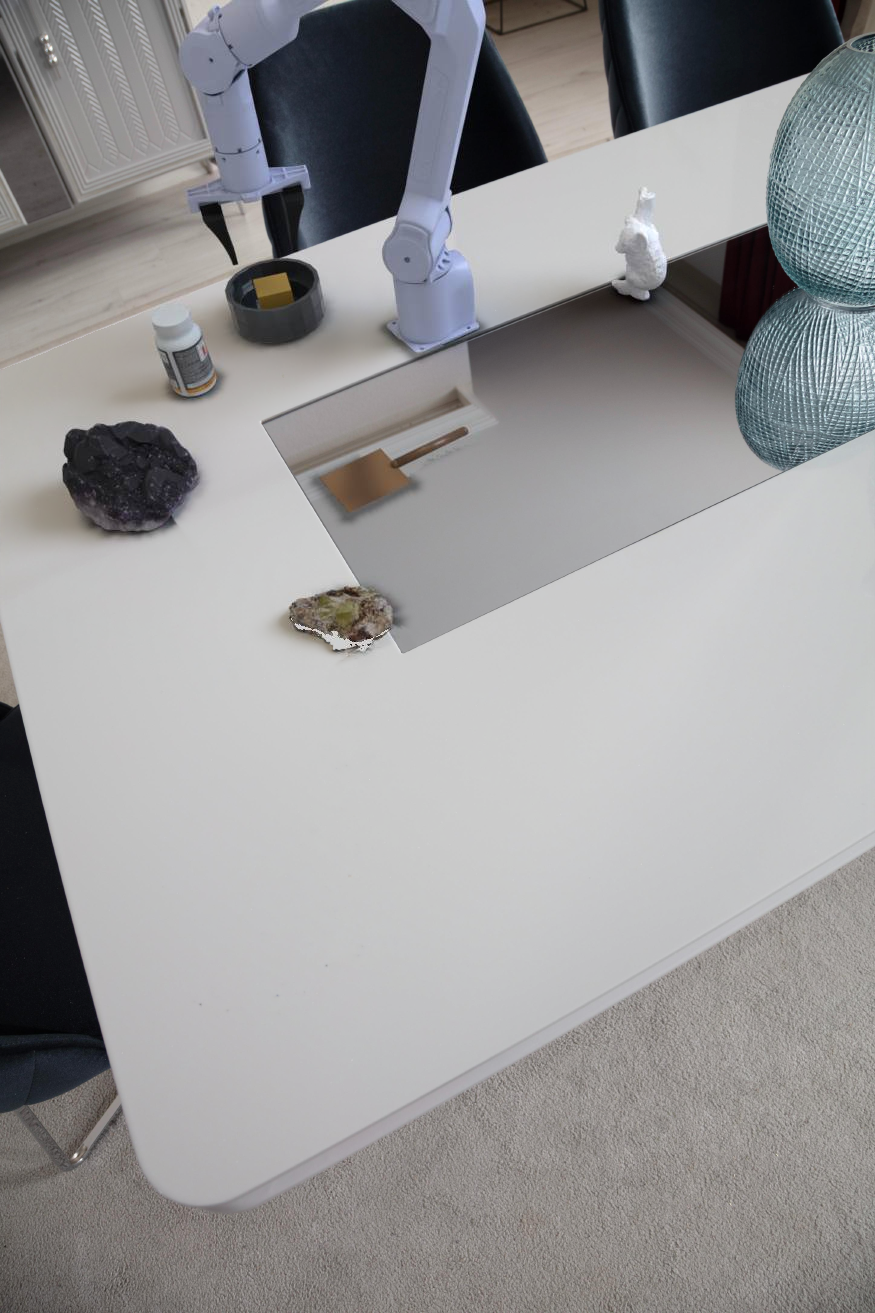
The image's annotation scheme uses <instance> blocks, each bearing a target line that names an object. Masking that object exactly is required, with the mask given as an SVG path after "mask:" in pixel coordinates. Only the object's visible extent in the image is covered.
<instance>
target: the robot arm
mask: <svg viewBox="0 0 875 1313" xmlns="http://www.w3.org/2000/svg"><path fill="white" fill-rule="evenodd" d="M328 1H329V0H230V1H229V2H227V3H226V4H225V5H223V6H221V7H220V5H218V4H216V5H214V6H212V7H211V8H209V10H208V11H207V12H206V13H207V14H206V15H207V16H205V17H204V18H203V19H202V20H201V21H200V22H199V23H198V24H196V26H194V28H193V29H192V30H191V31H189V32H188V33H187V34H186V36H185V37H184V38H183V40H182V41H181V43H180V45H179V49H178V52H177V53H178V54H177V55H178V63H179V64H178V65H179V67H180V70H181V72H182V74H183V76H184V78H185V79H186V81H187V82H188V83H189V84H190V85H191V86H192V87H193V88H195V89H196V92H197V95H198V99H199V103H200V106H201V110H202V114H203V118H204V122H205V125H206V128H207V132H208V137H209V140H210V144H211V147H212V151H213V156H214V158H215V162H216V167H217V170H218V174H219V178H216V179H214V180H212V181H209V182H206V183H204V184H202V185H198V186H195V187H193V188H187V189H185V197H186V200H187V203H188V206H189V210H190V214H197V213H200V214H201V219H202V222H203V224H204V225H205V226H206V227H207V228H208V229H209V230H210V232H212V233H213V235H214V236H215V238H216V239H217V240H218V241H219V242H220V244H221V245H222V247H223V248H224V251H226V253H227V255H228V257H229V260H230V262H231V264H232V266H238V265H239V261H238V258H237V257H238V256H237V253H236V250H235V246H234V244H233V241H232V238H231V236H230V232H229V230H228V227H227V226H228V225H227V222H226V218H225V215H224V212H223V209H222V205H225V204H231V203H234V202H239V201H242V202H243V204H251V203H256V202H259V201H261V197H263V196H268V195H272V194H276V193H280V198H281V202H282V206H283V210H284V216H285V220H286V227H287V235H288V239H289V243H290V247H291V250H292V253H297V252H299V229H300V228H299V227H300V222H301V218H302V213H303V210H304V207H305V195H304V192H303V190H307V189H311V188H312V185H311V180H310V175H309V171H308V168H307V165H306V164H302V165H296V166H278V167H277V166H276V167H269V164H268V159H267V155H266V150H265V146H264V142H263V137H262V133H261V129H260V125H259V120H258V115H257V113H256V112H257V111H256V107H255V103H254V97H253V93H252V90H251V85H250V78H249V74H248V69H251V68H253V67H255V65H257V64H259V63H260V62H262V61H264V60H265V59H266V58H268V57H270V56H272V54H274V53H275V52H277V51H278V50H280V49H282V48H283V47H285V46H286V45H288V44H289V43H291V42H293V41H294V40H295V39H296V38H297V36H298V33H299V29H300V20H301V18H302V17H304V16H305V15H307V14H308V13H310V12H312V11H314V10H315V9H316V8H319V7H320V6H322V5H323V4H325V3H327V2H328ZM391 2H393V3H394V5H396V6H397V7H399V8H400V9H401V10H402V11H403V12H404V13H406V14H407V15H408V16H409V17H410V18H411V19H412V20H414V21H415V22H416V23H418V24H419V26H421V27H422V29H423V30H424V32H425V33H426V35H427V36H428V38H429V39H430V49H429V54H428V59H427V66H426V69H425V70H426V71H425V77H424V83H423V87H422V92H421V93H422V94H421V97H420V98H421V99H420V105H419V110H418V116H417V121H416V127H415V132H414V138H413V143H412V149H411V155H410V159H409V160H410V161H409V166H408V172H407V178H406V182H405V183H406V185H405V190H404V193H403V195H402V199H401V202H400V205H399V208H398V211H397V214H396V217H395V222H394V226H393V228H392V231H391V233H390V234H389V235H388V236H387V238H386V239H385V241H384V242H383V245H382V250H381V257H382V261H383V264H384V266H385V268H386V270H387V271H388V272H389V273H390V274H391V275H392V282H393V290H394V297H395V305H396V312H397V313H396V314H397V318H396V319H394V320H392V321H390V322H388V323H386V328H387V330H388V331H390V332H391V333H392V334H393V336H395V337H396V338H397V339H398V340H401V341H402V342H404V343H405V345H407V347H409V348H410V349H411V350H412V351H413V352H414V353H416V354H420V353H423V352H424V351H427V350H430V349H432V348H434V347H436V346H439V345H442V346H443V345H445V344H449V343H450V342H452V341H454V340H456V339H459V338H461V337H463V336H465V335H468V334H470V333H472V332H474V331H476V330H479V328H480V324H479V323H478V322H477V321H476V319H477V318H476V302H475V284H474V278H473V273H472V270H471V267H470V265H469V263H468V261H467V259H466V257H465V256H464V255H463V254H462V253H461V252H460V251H459V250H456V249H451V250H448V247H447V244H446V241H447V240H448V238H449V237H450V235H451V233H452V231H453V226H454V219H453V218H454V217H453V214H452V210H451V199H452V194H453V191H452V190H451V189H450V188H451V183H452V179H453V174H454V169H455V165H456V160H457V157H458V156H457V155H458V151H459V147H460V144H461V138H462V134H463V129H464V125H465V120H466V115H467V111H468V106H469V101H470V97H471V93H472V89H473V88H472V87H473V83H474V79H475V74H476V70H477V65H478V62H479V61H478V60H479V55H480V52H481V47H482V42H483V38H484V33H485V28H486V19H487V15H486V10H485V5H484V2H483V0H391Z"/></svg>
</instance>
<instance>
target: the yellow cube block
mask: <svg viewBox="0 0 875 1313" xmlns="http://www.w3.org/2000/svg"><path fill="white" fill-rule="evenodd" d="M253 282H254V286H255V290H256V293H257V297H258V301H259V305H260V309H272V308H277V307H282V306H286V305H288V304H290V303H293V302H294V299H293V295H292V291H291V287H290V284H289V281H288V278H287V275H286V273H281V274H276V275H272V276H267V277H263V278H259V279H254V280H253Z"/></svg>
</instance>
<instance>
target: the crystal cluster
mask: <svg viewBox="0 0 875 1313" xmlns="http://www.w3.org/2000/svg"><path fill="white" fill-rule="evenodd" d="M62 452H63V455H64V457H65V458H66V459H67V460H66V462H64V463H63V465H61V466H62V468H61V473H62V483H63V484H64V485H65V487H66V489H67V490H68V492H69V495H70V497H71V499H72V501H73V504H74V505H75V507H76V508H77V509H78V510H79V511H80V512H82V514H83V515H85V516H87V517H89V518H91V520H92V521H93V523H94V524H96V525H97V526H100V527H101V528H102V529H104V530H106V531H115V530H116V531H122V532H124V533H125V532H129V531H135V532H140V531H147V532H149V531H150V532H151V531H153V530H155V529H157V528H160V527H162V526H163V525H164V524H165V523H167V522H168V521H169V519H170V516H172V515H173V514H174V510H175V509H176V508H178V507H179V506H180V505H182V504H183V502H184V501H185V499H186V497H187V496H188V494H190V492H191V491H193V489H194V488H196V486H197V484H198V483H199V482H200V476H199V475H198V474H199V473H198V467H197V462H196V461H195V459H194V458H193V457H192V454H191V453H190V452H189V450H188V449H187V448H186V447H184V446H183V445H182V444H181V442H180V441H179V440H178V439H177V437H176V436H175V434H174V433H173V431H171V429H168V428H167V427H165V426H162V425H159V426H158V425H156V424H155V423H151V422H150V423H149V422H147V423H142V422H138V421H135V420H126V421H122V422H117V423H116V424H113V425H110V424H109V425H108V424H105V423H100V422H99V423H97V422H96V424H94V425H93V426H91V427H90V428H88V429H81V428H71V429H70V430H68V432H67V433H66V434H65V438H64V442H63V451H62Z"/></svg>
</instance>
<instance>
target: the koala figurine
mask: <svg viewBox="0 0 875 1313" xmlns="http://www.w3.org/2000/svg"><path fill="white" fill-rule="evenodd" d="M655 203H656V194H655V192H653V191H648V188H647V187H645V186H642V187H640V188H639V189H638V198H637V201H636V208H635V211H634V214H632V213H627V214H625V216H624V224H625V226H624V227H623V229H622V230H621V232H620V234H619V235H618V236H619V238H618V241H617V243H616V245H615V247H614V250H615V251H616V252H617V254H621V255H622V254H624V258H625V262H626V263H625V275H624V277H625V279H624V280H621V279H619V278H617V279H616V278H614V279H612V281H611V285H612V287H613V288H614V289H615V290H617V292H618V294H621V295H624V296H631V297H633V298H634V299H637V300H641V301H646V300H649V299H650V291H652V290H656V289H657V288H658V287H660V286H661V285H662V284H663V282H664V281H665V279H666V276H667V268H668V260H667V257H666V254H665V253H664V250H663V247H662V244H661V243H660V232H659V231H658V230H657V228H656V226H655V225H654V224H653V214H654V208H655Z"/></svg>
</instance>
